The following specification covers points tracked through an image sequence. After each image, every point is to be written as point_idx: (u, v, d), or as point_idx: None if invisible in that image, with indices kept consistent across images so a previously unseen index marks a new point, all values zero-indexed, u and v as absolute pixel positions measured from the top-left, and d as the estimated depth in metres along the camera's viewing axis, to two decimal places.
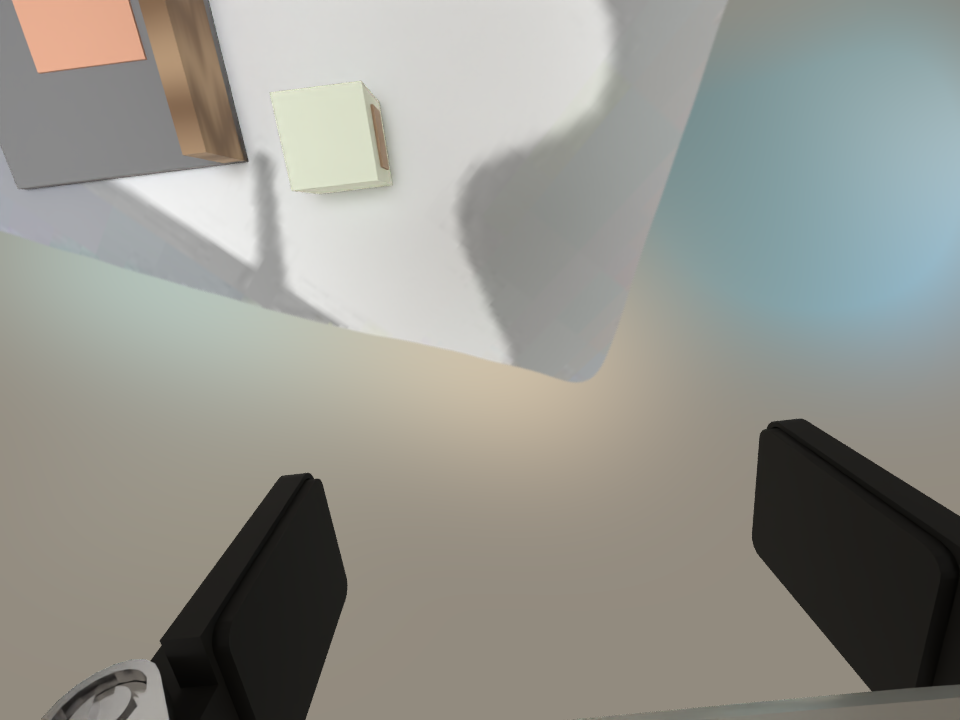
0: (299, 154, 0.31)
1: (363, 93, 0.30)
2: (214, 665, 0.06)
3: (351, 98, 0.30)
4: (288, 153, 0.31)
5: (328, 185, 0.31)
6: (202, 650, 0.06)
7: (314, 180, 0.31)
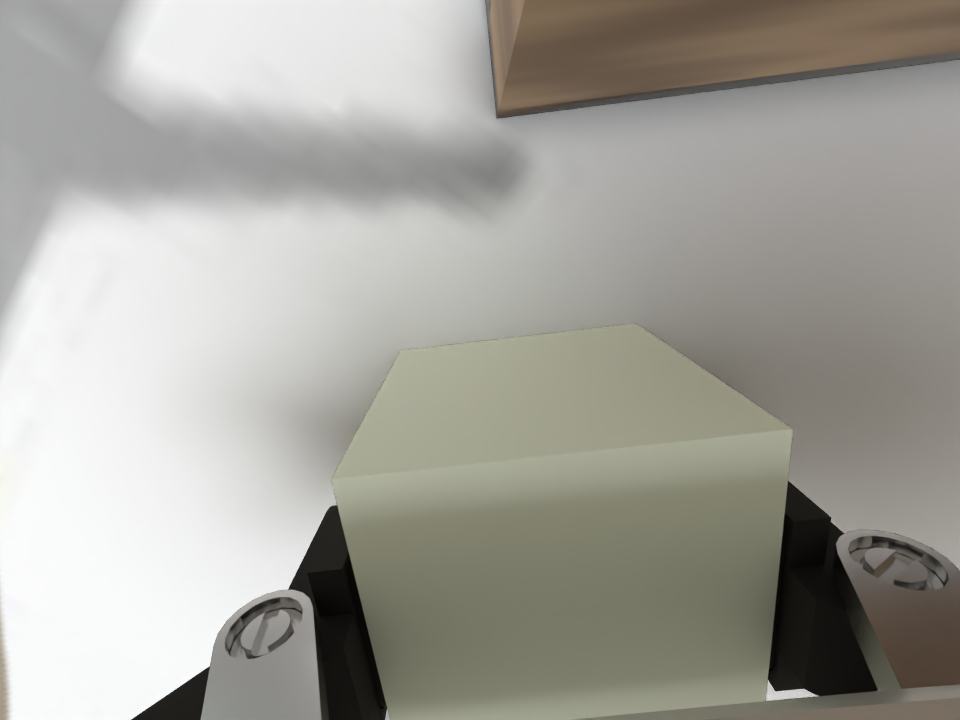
0: (504, 528, 0.06)
1: None
2: (347, 596, 0.07)
3: None
4: (509, 484, 0.06)
5: (372, 625, 0.07)
6: (341, 582, 0.07)
7: (388, 580, 0.07)
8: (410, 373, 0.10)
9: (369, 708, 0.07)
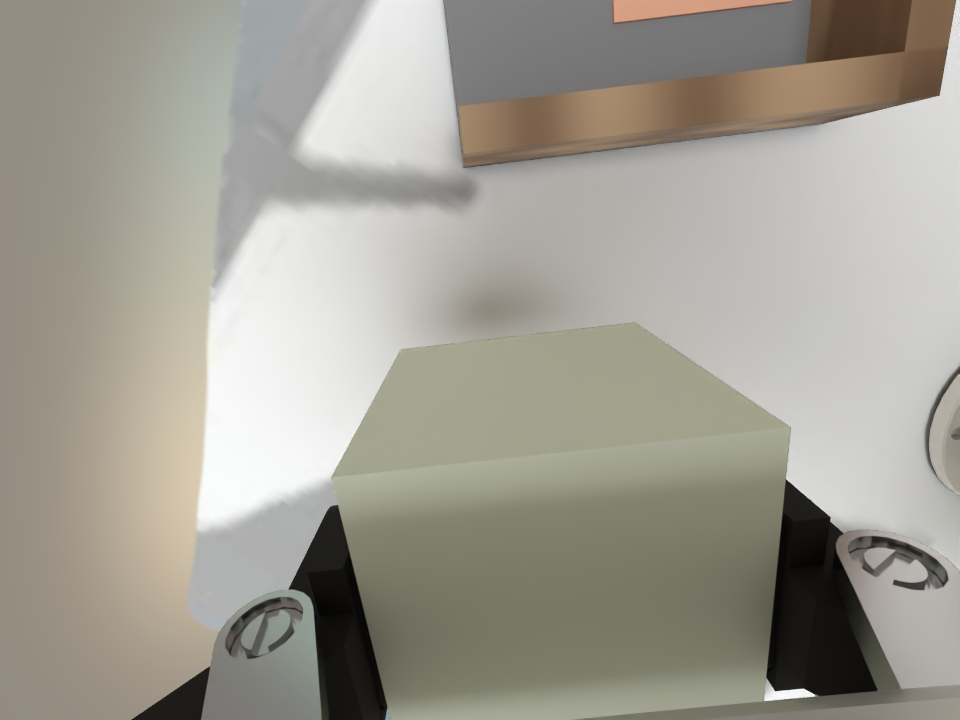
0: (503, 526, 0.06)
1: None
2: (347, 597, 0.07)
3: None
4: (508, 481, 0.06)
5: (372, 623, 0.07)
6: (342, 581, 0.07)
7: (388, 577, 0.07)
8: (410, 372, 0.10)
9: (370, 708, 0.07)
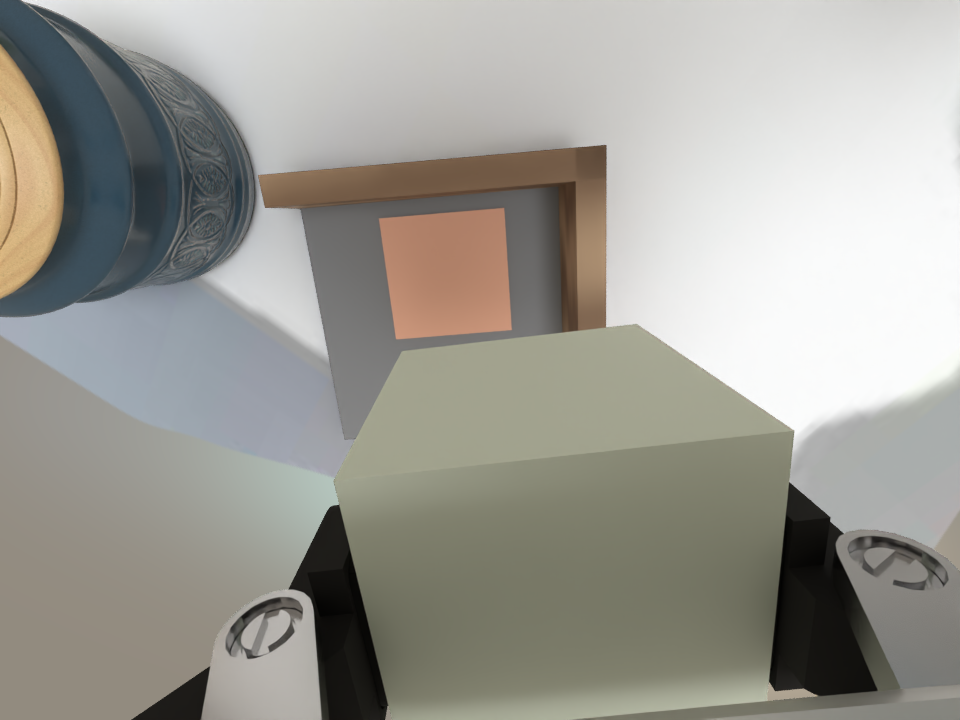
0: (506, 529, 0.06)
1: None
2: (347, 596, 0.07)
3: None
4: (511, 485, 0.06)
5: (374, 626, 0.07)
6: (341, 582, 0.07)
7: (391, 580, 0.07)
8: (412, 374, 0.10)
9: (369, 708, 0.07)
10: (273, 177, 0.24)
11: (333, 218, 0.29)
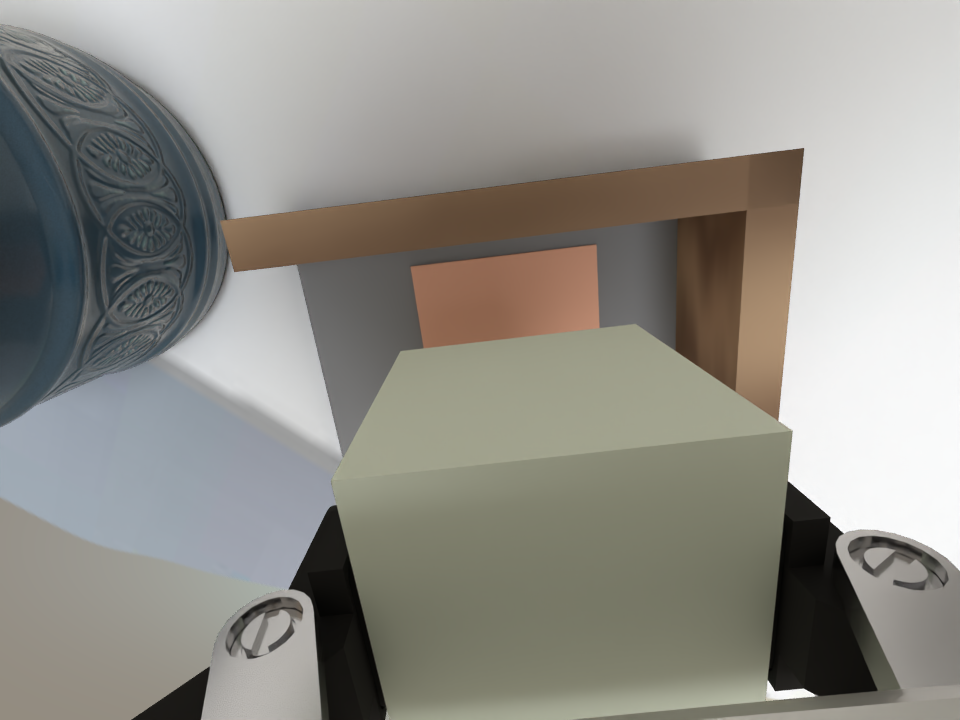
0: (504, 530, 0.06)
1: None
2: (347, 596, 0.07)
3: None
4: (509, 485, 0.06)
5: (372, 626, 0.07)
6: (342, 582, 0.07)
7: (388, 581, 0.07)
8: (411, 373, 0.10)
9: (369, 707, 0.07)
10: (245, 223, 0.14)
11: (343, 268, 0.20)
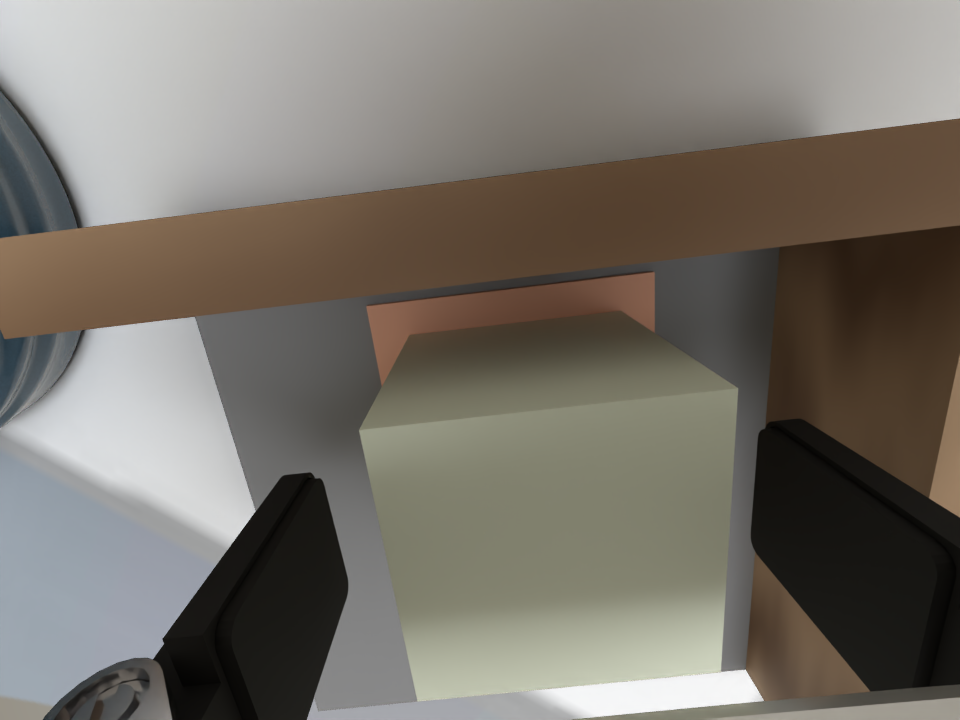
0: (501, 472, 0.08)
1: None
2: (215, 663, 0.06)
3: (673, 644, 0.09)
4: (506, 434, 0.07)
5: (390, 558, 0.08)
6: (204, 648, 0.06)
7: (405, 517, 0.08)
8: (419, 352, 0.11)
9: None
10: (12, 248, 0.07)
11: (263, 308, 0.13)
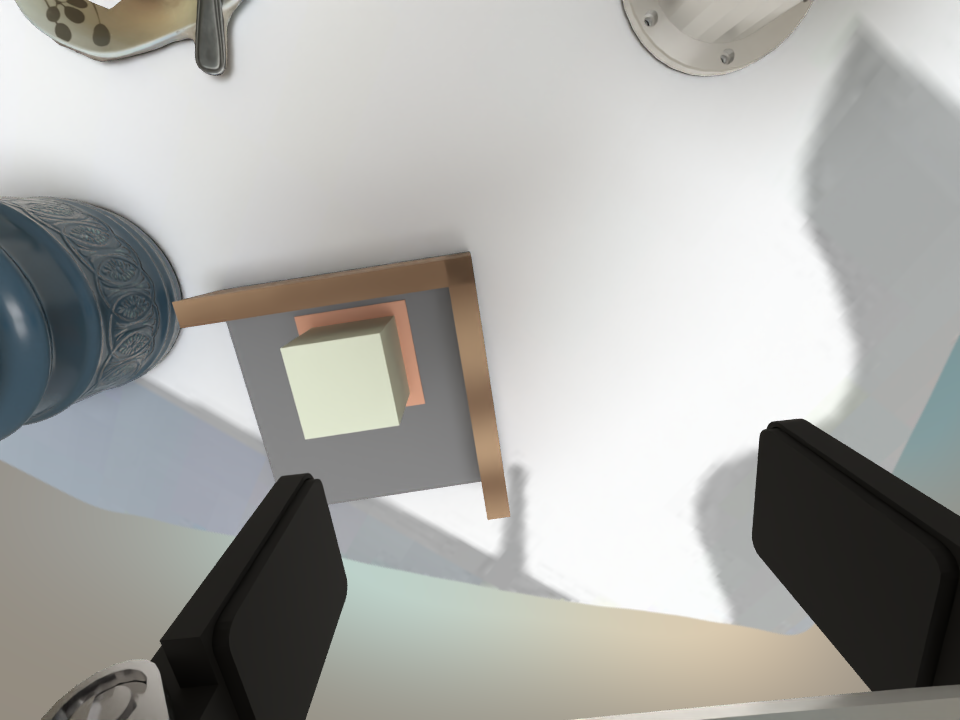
0: (320, 359, 0.28)
1: (388, 425, 0.29)
2: (213, 665, 0.06)
3: (381, 415, 0.29)
4: (319, 348, 0.27)
5: (292, 388, 0.28)
6: (202, 650, 0.06)
7: (295, 374, 0.28)
8: (310, 332, 0.31)
9: None
10: (185, 303, 0.27)
11: (254, 319, 0.33)
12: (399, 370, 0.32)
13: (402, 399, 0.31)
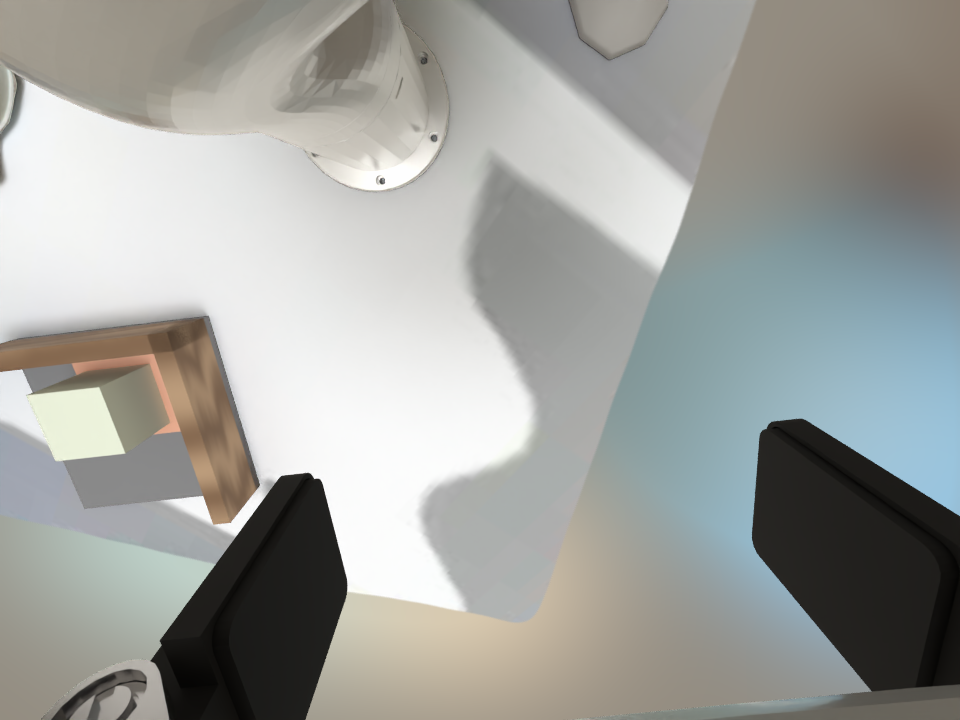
0: (57, 404, 0.37)
1: (118, 453, 0.39)
2: (213, 664, 0.06)
3: (110, 445, 0.38)
4: (56, 396, 0.37)
5: (40, 423, 0.38)
6: (202, 650, 0.06)
7: (40, 414, 0.37)
8: (74, 377, 0.41)
9: None
10: None
11: None
12: (145, 408, 0.41)
13: (143, 431, 0.41)
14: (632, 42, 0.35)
